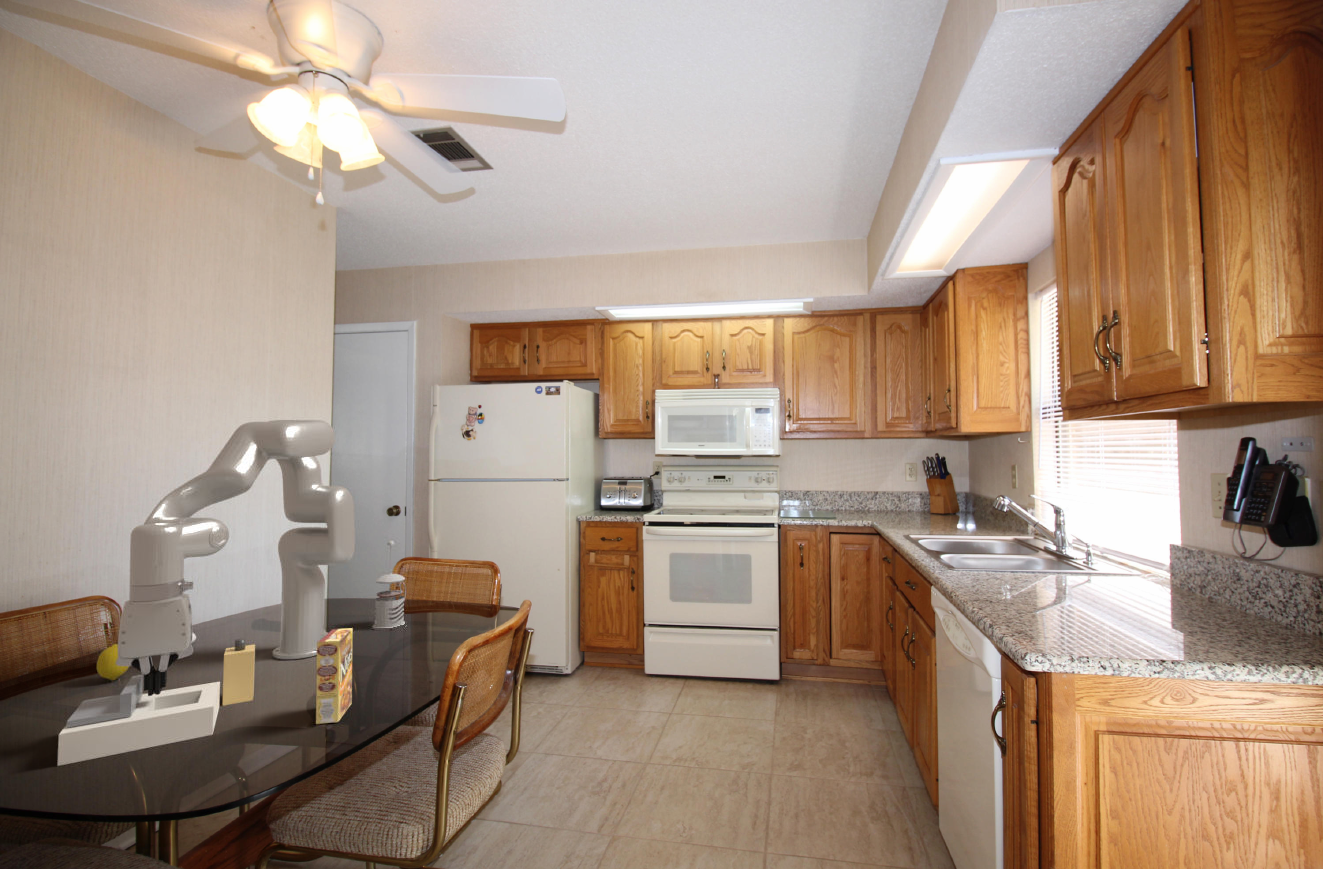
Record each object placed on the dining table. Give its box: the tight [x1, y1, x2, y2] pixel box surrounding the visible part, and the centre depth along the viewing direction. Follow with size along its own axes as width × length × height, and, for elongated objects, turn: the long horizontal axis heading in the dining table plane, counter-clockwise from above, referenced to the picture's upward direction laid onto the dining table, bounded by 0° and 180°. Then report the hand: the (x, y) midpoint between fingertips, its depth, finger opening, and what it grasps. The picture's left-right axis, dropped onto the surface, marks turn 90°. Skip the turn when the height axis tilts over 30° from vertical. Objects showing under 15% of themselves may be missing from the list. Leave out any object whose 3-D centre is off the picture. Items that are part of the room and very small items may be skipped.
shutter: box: [66, 674, 144, 728], centre depth 104 cm, size 8×10×4 cm
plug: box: [222, 638, 256, 707], centre depth 122 cm, size 5×5×12 cm
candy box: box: [315, 627, 354, 725], centre depth 115 cm, size 9×4×15 cm, turn 13°
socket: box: [57, 681, 221, 767], centre depth 107 cm, size 20×14×5 cm
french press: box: [372, 540, 407, 628], centre depth 176 cm, size 10×12×25 cm
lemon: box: [96, 643, 130, 682], centre depth 132 cm, size 6×6×8 cm
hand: (155, 692), depth 108 cm, fingers closed
